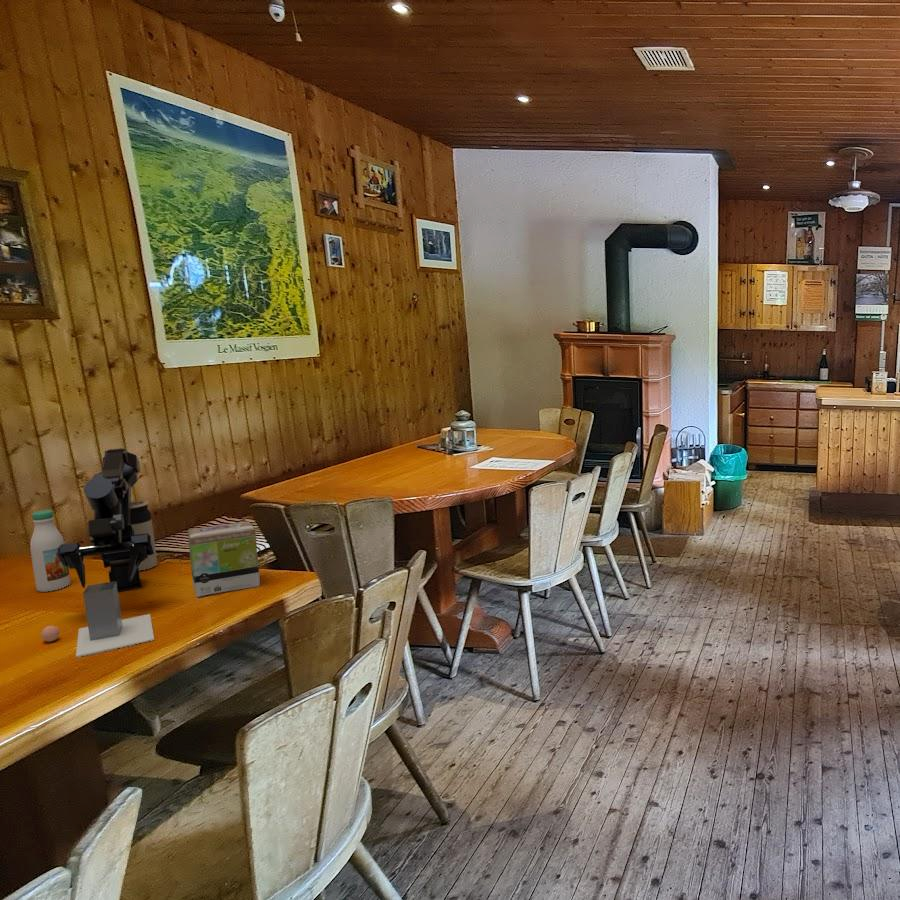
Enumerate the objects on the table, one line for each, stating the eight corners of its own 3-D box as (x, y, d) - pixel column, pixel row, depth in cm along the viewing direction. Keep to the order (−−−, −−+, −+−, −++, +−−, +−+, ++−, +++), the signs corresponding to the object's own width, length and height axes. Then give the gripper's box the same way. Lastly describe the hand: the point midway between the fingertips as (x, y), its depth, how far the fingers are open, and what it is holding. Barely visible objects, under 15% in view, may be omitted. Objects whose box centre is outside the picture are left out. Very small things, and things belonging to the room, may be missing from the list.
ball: (60, 636, 146) (58, 621, 146) (59, 641, 144) (57, 626, 143) (43, 640, 145) (40, 625, 145) (41, 645, 142) (39, 630, 142)
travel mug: (162, 566, 193) (154, 502, 190) (133, 574, 187) (124, 508, 184) (150, 561, 198) (142, 499, 195) (121, 568, 193) (112, 505, 190)
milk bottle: (35, 595, 175) (23, 517, 172) (37, 586, 182) (25, 511, 179) (70, 588, 178) (59, 511, 176) (71, 580, 185) (60, 506, 182)
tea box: (196, 599, 164) (188, 538, 162) (193, 586, 173) (186, 528, 171) (261, 586, 170) (255, 527, 168) (255, 575, 179) (249, 519, 177)
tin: (94, 631, 147) (87, 585, 146) (122, 626, 149) (116, 581, 147) (90, 640, 142) (83, 593, 141) (119, 635, 144) (112, 589, 142)
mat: (150, 615, 155) (149, 613, 155) (154, 640, 141) (154, 638, 141) (79, 630, 149) (78, 628, 149) (76, 658, 135) (75, 656, 135)
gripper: (52, 508, 151) (48, 572, 143) (145, 498, 157) (147, 559, 148) (65, 535, 160) (62, 597, 151) (153, 524, 166) (155, 583, 157)
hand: (106, 583), depth 152 cm, fingers open, 9 cm apart
